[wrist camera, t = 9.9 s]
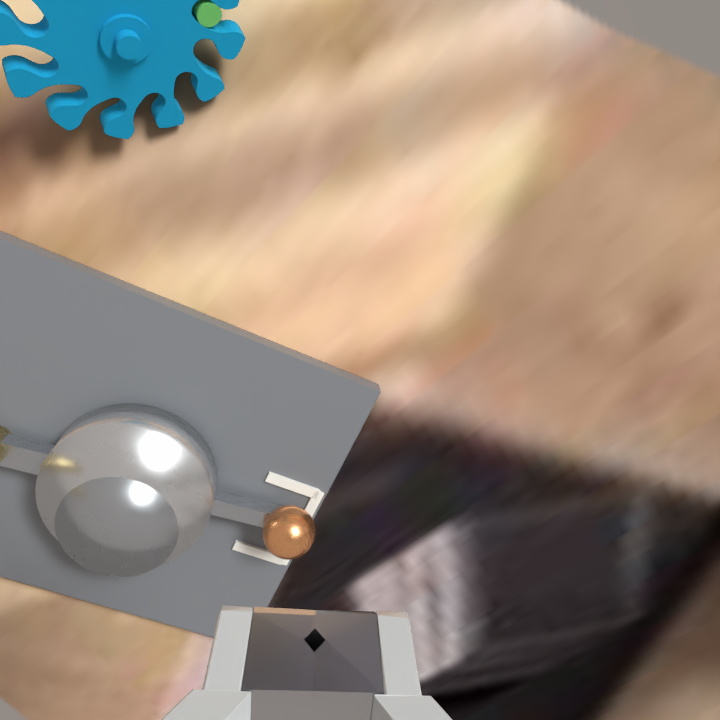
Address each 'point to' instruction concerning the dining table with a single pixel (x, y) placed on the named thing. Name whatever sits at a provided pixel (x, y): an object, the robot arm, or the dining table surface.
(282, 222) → the dining table surface
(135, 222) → the dining table surface
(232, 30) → the gear
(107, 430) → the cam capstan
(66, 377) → the grey square plate
